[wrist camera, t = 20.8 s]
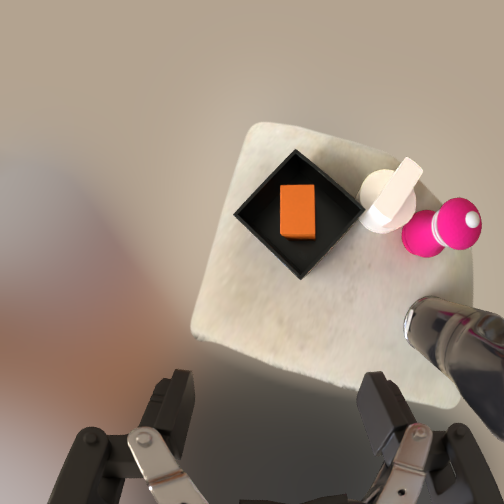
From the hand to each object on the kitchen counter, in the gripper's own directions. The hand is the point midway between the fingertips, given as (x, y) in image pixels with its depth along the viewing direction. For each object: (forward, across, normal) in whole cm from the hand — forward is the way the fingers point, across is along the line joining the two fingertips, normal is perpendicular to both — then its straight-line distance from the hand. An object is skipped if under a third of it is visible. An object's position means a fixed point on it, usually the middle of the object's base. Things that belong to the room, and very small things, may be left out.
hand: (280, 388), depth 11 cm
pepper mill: (+31, +26, +1) cm, 40 cm away
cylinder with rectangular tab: (+34, +19, +5) cm, 39 cm away
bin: (+36, +6, +1) cm, 36 cm away
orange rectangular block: (+35, +6, +2) cm, 36 cm away
